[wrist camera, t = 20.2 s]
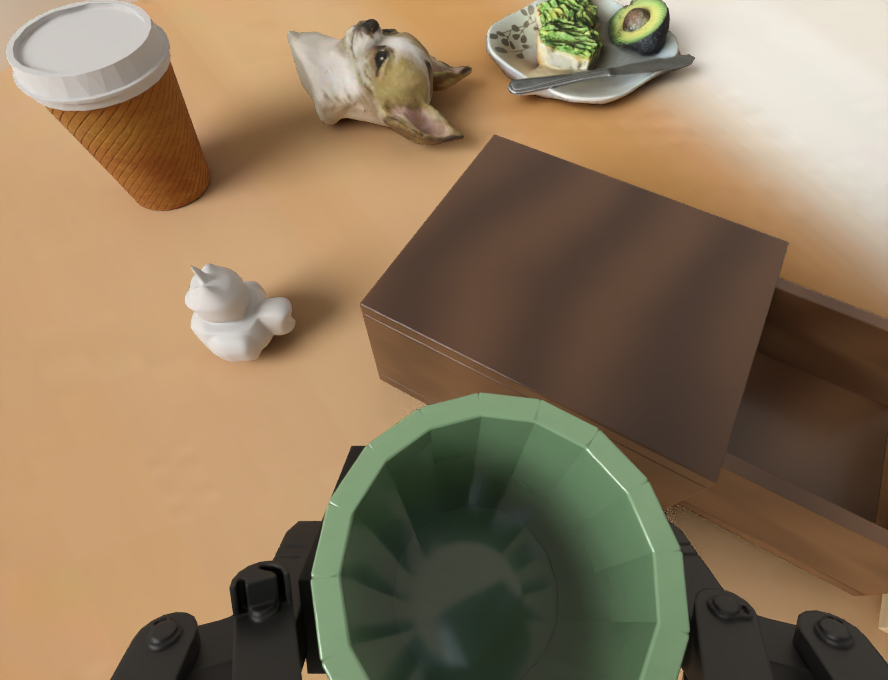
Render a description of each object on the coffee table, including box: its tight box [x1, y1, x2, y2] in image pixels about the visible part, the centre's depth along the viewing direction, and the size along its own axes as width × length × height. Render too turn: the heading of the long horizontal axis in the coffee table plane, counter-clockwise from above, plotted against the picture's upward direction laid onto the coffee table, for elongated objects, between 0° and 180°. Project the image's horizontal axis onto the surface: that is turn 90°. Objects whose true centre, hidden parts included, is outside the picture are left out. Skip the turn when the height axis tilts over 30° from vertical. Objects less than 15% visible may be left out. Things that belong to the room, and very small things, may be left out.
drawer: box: [677, 277, 888, 633], centre depth 25 cm, size 23×14×7 cm, turn 60°
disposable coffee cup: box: [6, 0, 210, 210], centre depth 36 cm, size 10×10×12 cm
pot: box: [310, 392, 690, 680], centre depth 14 cm, size 7×7×11 cm
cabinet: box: [360, 135, 789, 511], centre depth 29 cm, size 18×15×9 cm
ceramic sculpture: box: [288, 19, 472, 144], centre depth 42 cm, size 11×9×15 cm
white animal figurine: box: [185, 263, 295, 362], centre depth 30 cm, size 5×7×8 cm
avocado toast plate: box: [486, 0, 695, 104], centre depth 47 cm, size 19×18×5 cm
